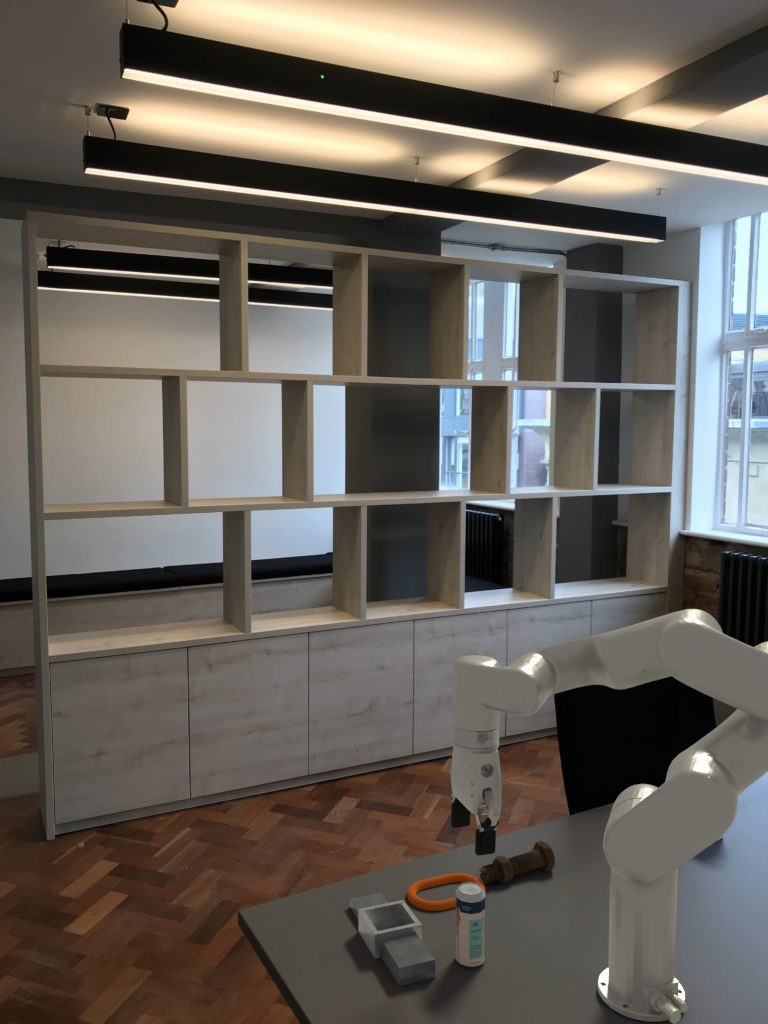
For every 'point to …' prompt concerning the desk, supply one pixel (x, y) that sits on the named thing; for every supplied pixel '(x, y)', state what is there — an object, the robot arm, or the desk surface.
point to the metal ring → (436, 882)
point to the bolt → (518, 864)
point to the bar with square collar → (394, 937)
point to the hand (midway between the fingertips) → (472, 839)
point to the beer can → (470, 924)
